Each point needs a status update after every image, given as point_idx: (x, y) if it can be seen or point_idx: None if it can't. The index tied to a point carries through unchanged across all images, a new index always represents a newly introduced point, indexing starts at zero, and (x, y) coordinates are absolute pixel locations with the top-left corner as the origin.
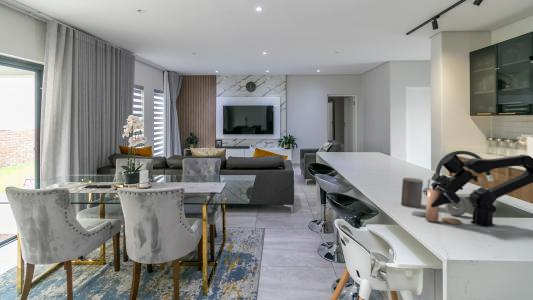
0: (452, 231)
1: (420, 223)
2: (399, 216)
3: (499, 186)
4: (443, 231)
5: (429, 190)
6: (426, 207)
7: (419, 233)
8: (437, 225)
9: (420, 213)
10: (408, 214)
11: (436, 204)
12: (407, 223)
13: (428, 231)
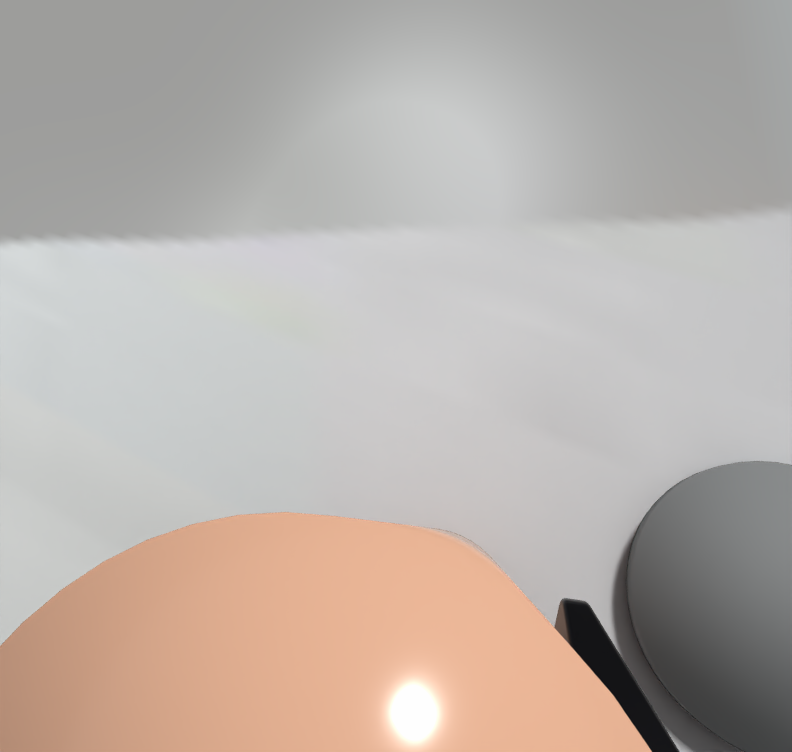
0: None
1: (325, 407)
2: (606, 252)
3: None
4: (40, 553)
5: (332, 654)
6: (429, 528)
7: (26, 270)
8: None
9: (787, 599)
10: (745, 406)
11: None
12: (322, 258)
13: (63, 379)
